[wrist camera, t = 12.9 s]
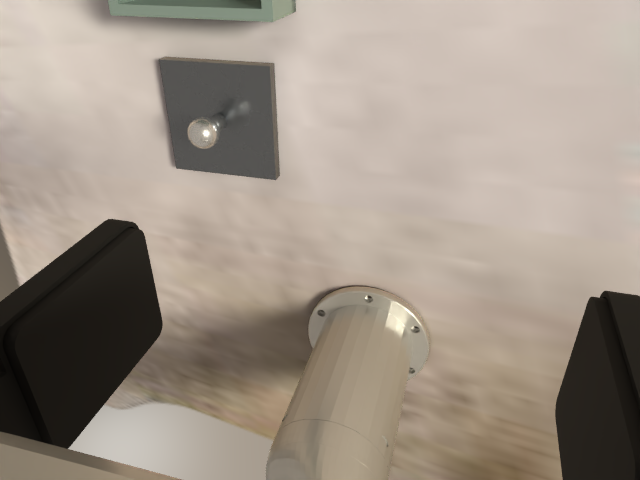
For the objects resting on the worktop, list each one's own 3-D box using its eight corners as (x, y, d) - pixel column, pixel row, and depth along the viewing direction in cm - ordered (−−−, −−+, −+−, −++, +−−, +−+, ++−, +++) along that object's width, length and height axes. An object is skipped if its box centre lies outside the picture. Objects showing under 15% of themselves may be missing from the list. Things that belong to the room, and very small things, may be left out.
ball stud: (279, 175, 49) (258, 200, 44) (181, 164, 51) (152, 187, 47) (274, 63, 43) (249, 79, 39) (165, 56, 46) (130, 71, 41)
